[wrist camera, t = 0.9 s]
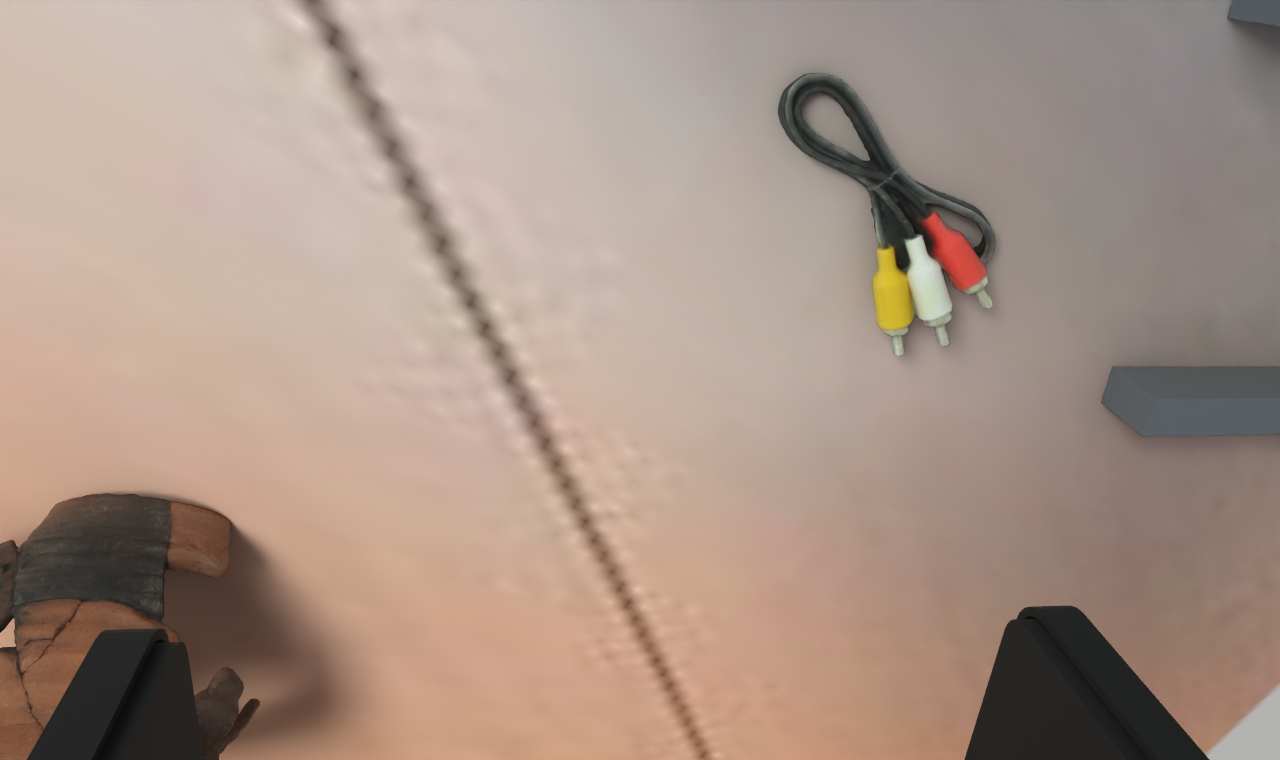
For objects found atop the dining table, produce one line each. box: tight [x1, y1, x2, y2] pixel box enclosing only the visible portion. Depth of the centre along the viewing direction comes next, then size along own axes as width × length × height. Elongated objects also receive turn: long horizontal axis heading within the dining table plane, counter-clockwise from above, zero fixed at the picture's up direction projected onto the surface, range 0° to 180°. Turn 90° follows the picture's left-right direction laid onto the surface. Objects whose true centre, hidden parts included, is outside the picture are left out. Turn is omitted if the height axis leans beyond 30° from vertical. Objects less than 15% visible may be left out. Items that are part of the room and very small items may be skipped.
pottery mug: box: [0, 494, 260, 760], centre depth 30 cm, size 12×10×8 cm
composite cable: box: [778, 73, 995, 356], centre depth 29 cm, size 10×5×2 cm, turn 30°
